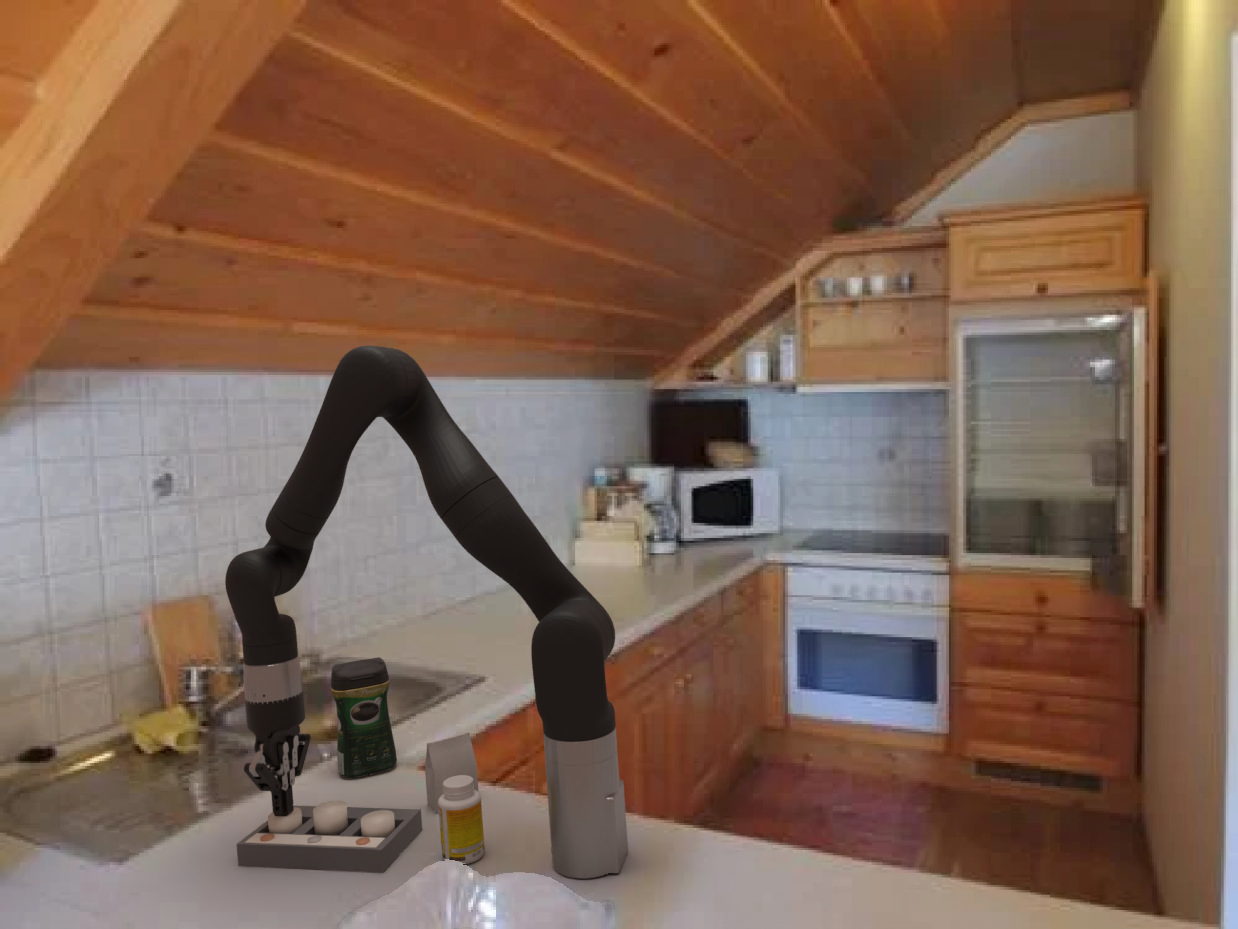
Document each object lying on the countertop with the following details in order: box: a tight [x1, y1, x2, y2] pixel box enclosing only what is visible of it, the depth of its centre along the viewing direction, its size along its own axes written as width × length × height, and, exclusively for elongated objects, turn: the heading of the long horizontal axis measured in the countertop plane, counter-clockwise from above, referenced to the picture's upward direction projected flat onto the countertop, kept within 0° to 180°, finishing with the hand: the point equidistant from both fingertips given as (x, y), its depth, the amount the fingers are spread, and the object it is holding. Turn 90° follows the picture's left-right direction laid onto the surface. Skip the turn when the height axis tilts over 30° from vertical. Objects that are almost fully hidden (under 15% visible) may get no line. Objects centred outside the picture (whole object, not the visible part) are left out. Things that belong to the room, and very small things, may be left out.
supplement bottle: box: [438, 775, 485, 865], centre depth 119 cm, size 6×6×10 cm
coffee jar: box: [330, 657, 398, 779], centre depth 152 cm, size 10×8×19 cm
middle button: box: [313, 800, 348, 835], centre depth 124 cm, size 4×4×3 cm
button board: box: [236, 805, 423, 873], centre depth 124 cm, size 21×12×3 cm, turn 78°
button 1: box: [267, 807, 303, 834], centre depth 125 cm, size 4×4×3 cm
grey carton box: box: [424, 732, 480, 815], centre depth 136 cm, size 4×7×10 cm, turn 124°
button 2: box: [361, 810, 395, 837], centre depth 123 cm, size 4×4×3 cm
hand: (283, 814), depth 125 cm, fingers closed
